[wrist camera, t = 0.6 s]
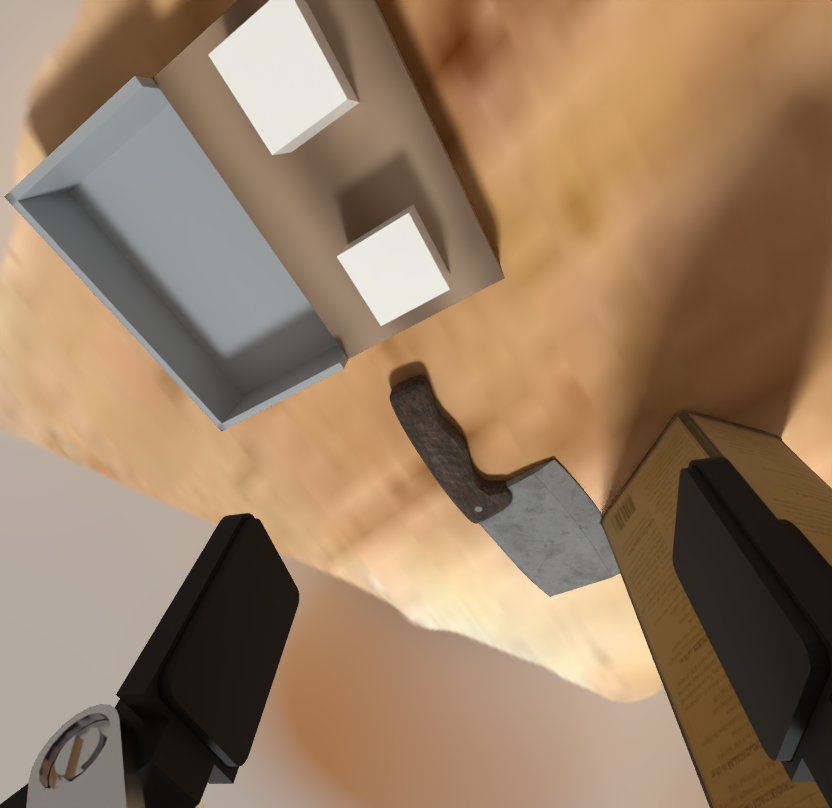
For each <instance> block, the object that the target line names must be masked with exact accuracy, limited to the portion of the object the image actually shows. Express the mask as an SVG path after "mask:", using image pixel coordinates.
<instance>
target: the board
mask: <svg viewBox="0 0 832 808" xmlns="http://www.w3.org/2000/svg"><path fill="white" fill-rule="evenodd" d="M268 1H269V0H238V1H237V2H236V3H235V4H234V5H232V6H231V7H230V8H229V9H228V10H227V11H226V12H225V13H224V14H223V15H221V16H220V17H219V18H218V19H217V20H216V21H215V22H214V23H213V24H212V25H210V26H209V27H208V28H207V29H206V30H205V31H204V32H203V33H202V34H201V35H200V36H198V37H197V38H196V39H195V40H194V41H193V42H192V43H191V44H190V45H189V46H187V47H186V48H185V49H184V50H183V51H182V52H181V53H180V54H179V55H178V56H176V57H175V58H174V59H173V60H172V61H171V62H170V63H169V64H168V65H167V66H165V67H164V68H163V69H162V70H161V71H160V72H159V73H158V74H157V75H156V76H155V77H153V78H152V79H153V80H154V81H155V83H156V84H157V86H158V87H159V89H160V90H161V91H162V93H163V94H164V96H165V97H166V99H167V100H168V101H169V103H170V104H171V106H172V107H173V109H174V110H175V111H176V113H177V114H178V116H179V117H180V119H181V120H182V121H183V123H184V124H185V126H186V127H187V129H188V130H189V131H190V133H191V134H192V136H193V137H194V139H195V140H196V141H197V143H198V144H199V146H200V147H201V149H202V150H203V151H204V153H205V154H206V156H207V157H208V159H209V160H210V161H211V163H212V164H213V166H214V167H215V169H216V170H217V171H218V173H219V174H220V176H221V177H222V179H223V180H224V181H225V183H226V184H227V186H228V187H229V189H230V190H231V192H232V193H233V194H234V196H235V197H236V199H237V200H238V202H239V203H240V204H241V206H242V207H243V209H244V210H245V212H246V213H247V214H248V216H249V217H250V219H251V220H252V222H253V223H254V224H255V226H256V227H257V229H258V230H259V232H260V233H261V234H262V236H263V237H264V239H265V240H266V242H267V243H268V244H269V246H270V247H271V249H272V250H273V252H274V253H275V254H276V256H277V257H278V259H279V260H280V262H281V263H282V264H283V266H284V267H285V269H286V270H287V272H288V273H289V274H290V276H291V277H292V279H293V280H294V282H295V283H296V284H297V286H298V287H299V289H300V290H301V292H302V293H303V294H304V296H305V297H306V299H307V300H308V302H309V303H310V304H311V306H312V307H313V309H314V310H315V312H316V313H317V314H318V316H319V317H320V319H321V320H322V322H323V323H324V325H325V326H326V327H327V329H328V330H329V332H330V333H331V335H332V336H333V337H334V339H335V340H336V342H337V343H338V345H339V346H340V347H341V349H342V350H343V352H344V353H345V355H346V356H347V357H348V359H349V358H351V357H353V356H355V355H357V354H359V353H361V352H363V351H364V350H366V349H368V348H370V347H372V346H374V345H376V344H378V343H380V342H382V341H384V340H386V339H388V338H390V337H392V336H393V335H395V334H397V333H399V332H401V331H403V330H405V329H407V328H409V327H411V326H413V325H415V324H417V323H419V322H421V321H422V320H424V319H426V318H428V317H430V316H432V315H434V314H436V313H438V312H440V311H442V310H444V309H446V308H448V307H450V306H451V305H453V304H455V303H457V302H459V301H461V300H463V299H465V298H467V297H469V296H471V295H473V294H475V293H477V292H479V291H480V290H482V289H484V288H486V287H488V286H490V285H492V284H494V283H496V282H498V281H500V280H502V279H504V275H503V272H502V269H501V266H500V263H499V261H498V259H497V257H496V255H495V253H494V251H493V249H492V246H491V244H490V242H489V240H488V238H487V236H486V234H485V232H484V229H483V227H482V225H481V223H480V221H479V219H478V217H477V215H476V212H475V210H474V208H473V206H472V204H471V202H470V200H469V198H468V195H467V193H466V191H465V189H464V187H463V185H462V183H461V181H460V178H459V176H458V174H457V172H456V170H455V168H454V166H453V163H452V161H451V159H450V157H449V155H448V153H447V151H446V149H445V146H444V144H443V142H442V140H441V138H440V136H439V134H438V132H437V129H436V127H435V125H434V123H433V121H432V119H431V117H430V115H429V112H428V110H427V108H426V106H425V104H424V102H423V100H422V98H421V95H420V93H419V91H418V89H417V87H416V85H415V83H414V81H413V78H412V76H411V74H410V72H409V70H408V68H407V66H406V64H405V61H404V59H403V57H402V55H401V53H400V51H399V49H398V47H397V44H396V42H395V40H394V38H393V36H392V34H391V32H390V29H389V27H388V25H387V23H386V21H385V19H384V17H383V15H382V12H381V10H380V8H379V6H378V4H377V2H376V0H304V1H306V2H307V4H308V6H309V8H310V9H311V11H312V13H313V15H314V17H315V19H316V21H317V23H318V25H319V26H320V28H321V30H322V32H323V34H324V36H325V38H326V40H327V42H328V44H329V45H330V47H331V49H332V51H333V53H334V55H335V57H336V59H337V61H338V62H339V64H340V66H341V68H342V70H343V72H344V74H345V76H346V78H347V80H348V81H349V83H350V85H351V87H352V89H353V91H354V93H355V95H356V97H357V98H358V100H359V102H360V103H358V104H357V105H355V106H354V107H353V108H351V109H350V110H349V111H347V112H346V113H344V114H343V115H342V116H340V117H339V118H338V119H336V120H335V121H333V122H332V123H331V124H329V125H328V126H327V127H325V128H324V129H323V130H321V131H320V132H318V133H317V134H316V135H314V136H313V137H312V138H310V139H309V140H307V141H306V142H305V143H303V144H302V145H301V146H299V147H298V148H297V149H295V150H294V151H292V152H290V153H284V154H277V155H272V154H271V153H270V151H269V150H268V148H267V146H266V145H265V143H264V142H263V140H262V139H261V137H260V135H259V134H258V132H257V131H256V129H255V128H254V126H253V124H252V123H251V121H250V120H249V118H248V117H247V115H246V113H245V112H244V110H243V109H242V107H241V106H240V104H239V103H238V101H237V99H236V98H235V96H234V95H233V93H232V92H231V90H230V88H229V87H228V85H227V84H226V82H225V81H224V79H223V77H222V76H221V74H220V73H219V71H218V70H217V68H216V66H215V65H214V63H213V62H212V60H211V59H210V57H209V55H208V54H209V53H211V52H212V51H213V50H214V49H215V48H216V47H217V46H218V45H220V44H221V43H222V42H223V41H224V40H225V39H226V38H228V37H229V36H230V35H231V34H232V33H233V32H234V31H235V30H237V29H238V28H239V27H240V26H241V25H242V24H243V23H244V22H246V21H247V20H248V19H249V18H250V17H251V16H252V15H253V14H255V13H256V12H257V11H258V10H259V9H260V8H261V7H263V6H264V5H265V4H266V3H267V2H268ZM411 205H414V206H415V208H416V210H417V212H418V214H419V216H420V218H421V220H422V222H423V223H424V225H425V227H426V229H427V231H428V233H429V235H430V237H431V239H432V241H433V242H434V244H435V246H436V248H437V250H438V252H439V254H440V256H441V258H442V259H443V261H444V263H445V265H446V267H447V269H448V271H449V273H450V290H448V291H446V292H444V293H443V294H441V295H439V296H437V297H435V298H433V299H431V300H429V301H428V302H426V303H424V304H422V305H420V306H418V307H416V308H414V309H412V310H411V311H409V312H407V313H405V314H403V315H401V316H399V317H397V318H395V319H394V320H392V321H390V322H388V323H386V324H384V325H382V326H381V325H380V324H379V322H378V321H377V319H376V318H375V316H374V314H373V313H372V311H371V310H370V308H369V307H368V305H367V303H366V302H365V300H364V299H363V297H362V296H361V294H360V292H359V291H358V289H357V288H356V286H355V285H354V283H353V281H352V280H351V278H350V277H349V275H348V274H347V272H346V270H345V269H344V267H343V266H342V264H341V263H340V261H339V260H338V258H337V256H338V255H339V254H340V252H341V251H342V250H343V249H344V248H345V247H346V246H347V245H348V244H349V243H351V242H353V241H354V240H356V239H358V238H359V237H361V236H362V235H364V234H366V233H367V232H369V231H371V230H372V229H374V228H375V227H377V226H379V225H380V224H382V223H384V222H385V221H387V220H388V219H390V218H392V217H393V216H395V215H397V214H398V213H400V212H401V211H403V210H405V209H406V208H408V207H410V206H411Z"/></svg>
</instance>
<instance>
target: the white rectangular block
mask: <svg viewBox="0 0 832 808" xmlns="http://www.w3.org/2000/svg"><path fill="white" fill-rule="evenodd" d="M208 55H209V57H210V59H211V60H212V62H213V63H214V65H215V66H216V68H217V70H218V71H219V73H220V74H221V76H222V77H223V79H224V81H225V82H226V84H227V85H228V87H229V88H230V90H231V92H232V93H233V95H234V96H235V98H236V99H237V101H238V103H239V104H240V106H241V107H242V109H243V110H244V112H245V113H246V115H247V117H248V118H249V120H250V121H251V123H252V124H253V126H254V128H255V129H256V131H257V132H258V134H259V135H260V137H261V139H262V140H263V142H264V143H265V145H266V146H267V148H268V150H269V151H270V153H271V154H272V155H277V154H284V153H290V152H292V151H294V150H295V149H297V148H298V147H299V146H301V145H302V144H303V143H305V142H306V141H307V140H309V139H310V138H312V137H313V136H314V135H316V134H317V133H318V132H320V131H321V130H323V129H324V128H325V127H327V126H328V125H329V124H331V123H332V122H333V121H335V120H336V119H338V118H339V117H340V116H342V115H343V114H344V113H346V112H347V111H349V110H350V109H351V108H353V107H354V106H355V105H357V104H358V103H360V102H359V100H358V98H357V97H356V95H355V93H354V91H353V89H352V87H351V85H350V83H349V81H348V80H347V78H346V76H345V74H344V72H343V70H342V68H341V66H340V64H339V62H338V61H337V59H336V57H335V55H334V53H333V51H332V49H331V47H330V45H329V44H328V42H327V40H326V38H325V36H324V34H323V32H322V30H321V28H320V26H319V25H318V23H317V21H316V19H315V17H314V15H313V13H312V11H311V9H310V8H309V6H308V4H307V2H306V1H304V0H269V1H268V2H267V3H266V4H265V5H264V6H263V7H261V8H260V9H259V10H258V11H257V12H256V13H255V14H253V15H252V16H251V17H250V18H249V19H248V20H247V21H246V22H244V23H243V24H242V25H241V26H240V27H239V28H238V29H237V30H235V31H234V32H233V33H232V34H231V35H230V36H229V37H228V38H226V39H225V40H224V41H223V42H222V43H221V44H220V45H218V46H217V47H216V48H215V49H214V50H213V51H212V52H211V53H209V54H208Z"/></svg>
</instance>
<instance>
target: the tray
mask: <svg viewBox="0 0 832 808" xmlns="http://www.w3.org/2000/svg"><path fill="white" fill-rule="evenodd" d="M5 198H6V199H7V200H8V201H9V202H10V203H11V205H12V206H13V207H14V208H15V209H16V210H17V211H18V212H19V213H20V214H21V215H22V216H23V217H24V219H25V220H26V221H27V222H28V223H29V224H30V225H31V226H32V227H33V228H34V229H35V230H36V232H37V233H38V234H39V235H40V236H41V237H42V238H43V239H44V240H45V241H46V242H47V243H48V244H49V246H50V247H51V248H52V249H53V250H54V251H55V252H56V253H57V254H58V255H59V256H60V257H61V259H62V260H63V261H64V262H65V263H66V264H67V265H68V266H69V267H70V268H71V269H72V270H73V271H74V273H75V274H76V275H77V276H78V277H79V278H80V279H81V280H82V281H83V282H84V283H85V284H86V286H87V287H88V288H89V289H90V290H91V291H92V292H93V293H94V294H95V295H96V296H97V297H98V298H99V300H100V301H101V302H102V303H103V304H104V305H105V306H106V307H107V308H108V309H109V310H110V311H111V312H112V314H113V315H114V316H115V317H116V318H117V319H118V320H119V321H120V322H121V323H122V324H123V325H124V327H125V328H126V329H127V330H128V331H129V332H130V333H131V334H132V335H133V336H134V337H135V338H136V339H137V341H138V342H139V343H140V344H141V345H142V346H143V347H144V348H145V349H146V350H147V351H148V352H149V354H150V355H151V356H152V357H153V358H154V359H155V360H156V361H157V362H158V363H159V364H160V365H161V366H162V368H163V369H164V370H165V371H166V372H167V373H168V374H169V375H170V376H171V377H172V378H173V379H174V380H175V382H176V383H177V384H178V385H179V386H180V387H181V388H182V389H183V390H184V391H185V392H186V393H187V395H188V396H189V397H190V398H191V399H192V400H193V401H194V402H195V403H196V404H197V405H198V406H199V407H200V409H201V410H202V411H203V412H204V413H205V414H206V415H207V416H208V417H209V418H210V419H211V420H212V422H213V423H214V424H215V425H216V426H217V427H218V428H219V429H220V430H221V431H223V430H225V429H227V428H229V427H231V426H233V425H235V424H237V423H239V422H241V421H242V420H244V419H246V418H248V417H250V416H252V415H254V414H256V413H258V412H260V411H262V410H264V409H266V408H268V407H270V406H272V405H274V404H276V403H278V402H280V401H282V400H284V399H286V398H288V397H289V396H291V395H293V394H295V393H297V392H299V391H301V390H303V389H305V388H307V387H309V386H311V385H313V384H315V383H317V382H319V381H321V380H323V379H325V378H327V377H329V376H331V375H333V374H335V373H336V372H338V371H340V370H342V369H344V367H345V365H346V363H347V361H348V357H347V356H346V355H345V353H344V352H343V350H342V349H341V347H340V346H339V345H338V343H337V342H336V340H335V339H334V337H333V336H332V335H331V333H330V332H329V330H328V329H327V327H326V326H325V325H324V323H323V322H322V320H321V319H320V317H319V316H318V314H317V313H316V312H315V310H314V309H313V307H312V306H311V304H310V303H309V302H308V300H307V299H306V297H305V296H304V294H303V293H302V292H301V290H300V289H299V287H298V286H297V284H296V283H295V282H294V280H293V279H292V277H291V276H290V274H289V273H288V272H287V270H286V269H285V267H284V266H283V264H282V263H281V262H280V260H279V259H278V257H277V256H276V254H275V253H274V252H273V250H272V249H271V247H270V246H269V244H268V243H267V242H266V240H265V239H264V237H263V236H262V234H261V233H260V232H259V230H258V229H257V227H256V226H255V224H254V223H253V222H252V220H251V219H250V217H249V216H248V214H247V213H246V212H245V210H244V209H243V207H242V206H241V204H240V203H239V202H238V200H237V199H236V197H235V196H234V194H233V193H232V192H231V190H230V189H229V187H228V186H227V184H226V183H225V181H224V180H223V179H222V177H221V176H220V174H219V173H218V171H217V170H216V169H215V167H214V166H213V164H212V163H211V161H210V160H209V159H208V157H207V156H206V154H205V153H204V151H203V150H202V149H201V147H200V146H199V144H198V143H197V141H196V140H195V139H194V137H193V136H192V134H191V133H190V131H189V130H188V129H187V127H186V126H185V124H184V123H183V121H182V120H181V119H180V117H179V116H178V114H177V113H176V111H175V110H174V109H173V107H172V106H171V104H170V103H169V101H168V100H167V99H166V97H165V96H164V94H163V93H162V91H161V90H160V89H159V87H158V86H157V84H156V83H155V81H154V80H153V79H152V78H147V77H141V76H134V77H133V78H132V79H130V80H129V81H128V82H127V83H126V84H125V85H124V86H123V87H122V88H121V89H120V90H119V91H118V92H116V93H115V94H114V95H113V96H112V97H111V98H110V99H109V100H108V101H107V102H106V103H105V104H104V105H103V106H101V107H100V108H99V109H98V110H97V111H96V112H95V113H94V114H93V115H92V116H91V117H90V118H89V119H88V120H86V121H85V122H84V123H83V124H82V125H81V126H80V127H79V128H78V129H77V130H76V131H75V132H74V133H72V134H71V135H70V136H69V137H68V138H67V139H66V140H65V141H64V142H63V143H62V144H61V145H60V146H59V147H57V148H56V149H55V150H54V151H53V152H52V153H51V154H50V155H49V156H48V157H47V158H46V159H45V160H43V161H42V162H41V163H40V164H39V165H38V166H37V167H36V168H35V169H34V170H33V171H32V172H31V173H30V174H28V175H27V176H26V177H25V178H24V179H23V180H22V181H21V182H20V183H19V184H18V185H17V186H16V187H14V188H13V189H12V190H11V191H10V192H9V193H8V194H7V195H6V196H5Z"/></svg>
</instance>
